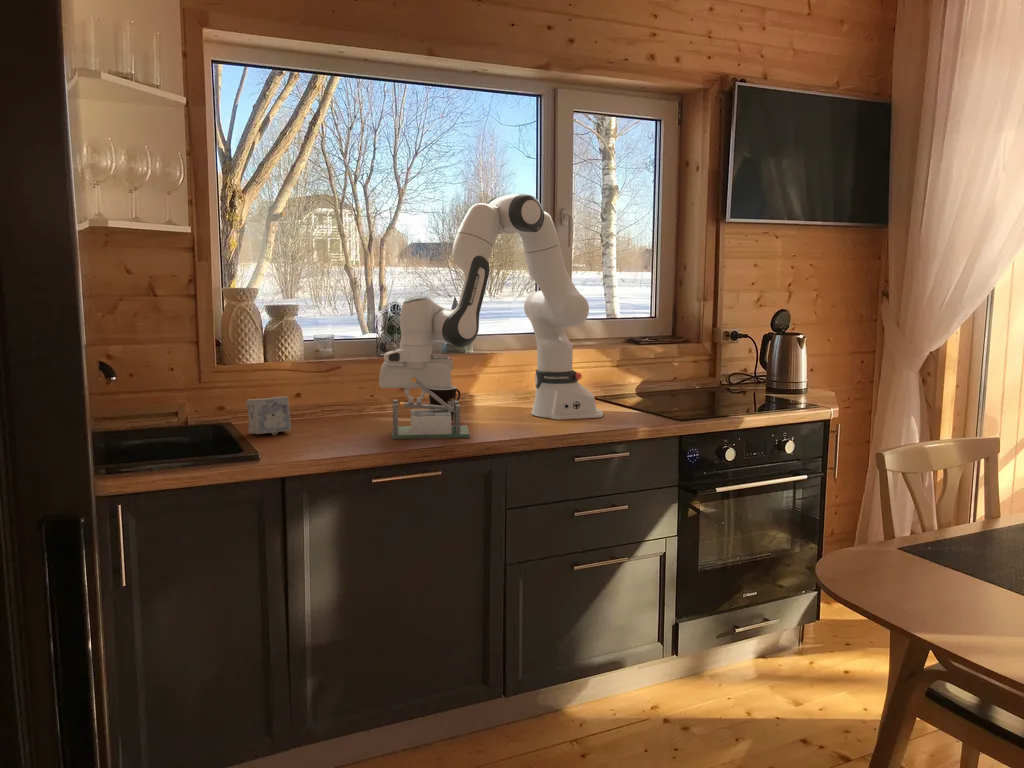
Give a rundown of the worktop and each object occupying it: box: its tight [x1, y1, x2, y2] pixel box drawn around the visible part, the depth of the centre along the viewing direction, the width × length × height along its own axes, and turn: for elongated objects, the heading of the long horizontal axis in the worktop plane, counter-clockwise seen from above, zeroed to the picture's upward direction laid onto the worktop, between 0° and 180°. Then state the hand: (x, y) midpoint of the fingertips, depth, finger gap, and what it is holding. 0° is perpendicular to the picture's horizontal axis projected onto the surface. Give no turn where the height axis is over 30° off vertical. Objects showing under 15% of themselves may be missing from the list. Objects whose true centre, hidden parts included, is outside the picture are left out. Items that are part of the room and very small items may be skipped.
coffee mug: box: [428, 385, 461, 422], centre depth 246 cm, size 12×9×10 cm
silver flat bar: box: [399, 401, 451, 410], centre depth 228 cm, size 14×3×1 cm, turn 97°
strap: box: [411, 376, 453, 412], centre depth 222 cm, size 14×3×1 cm
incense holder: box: [245, 395, 292, 436], centre depth 224 cm, size 10×8×10 cm
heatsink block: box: [391, 399, 471, 440], centre depth 226 cm, size 21×12×9 cm, turn 97°
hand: (415, 403), depth 228 cm, fingers closed
